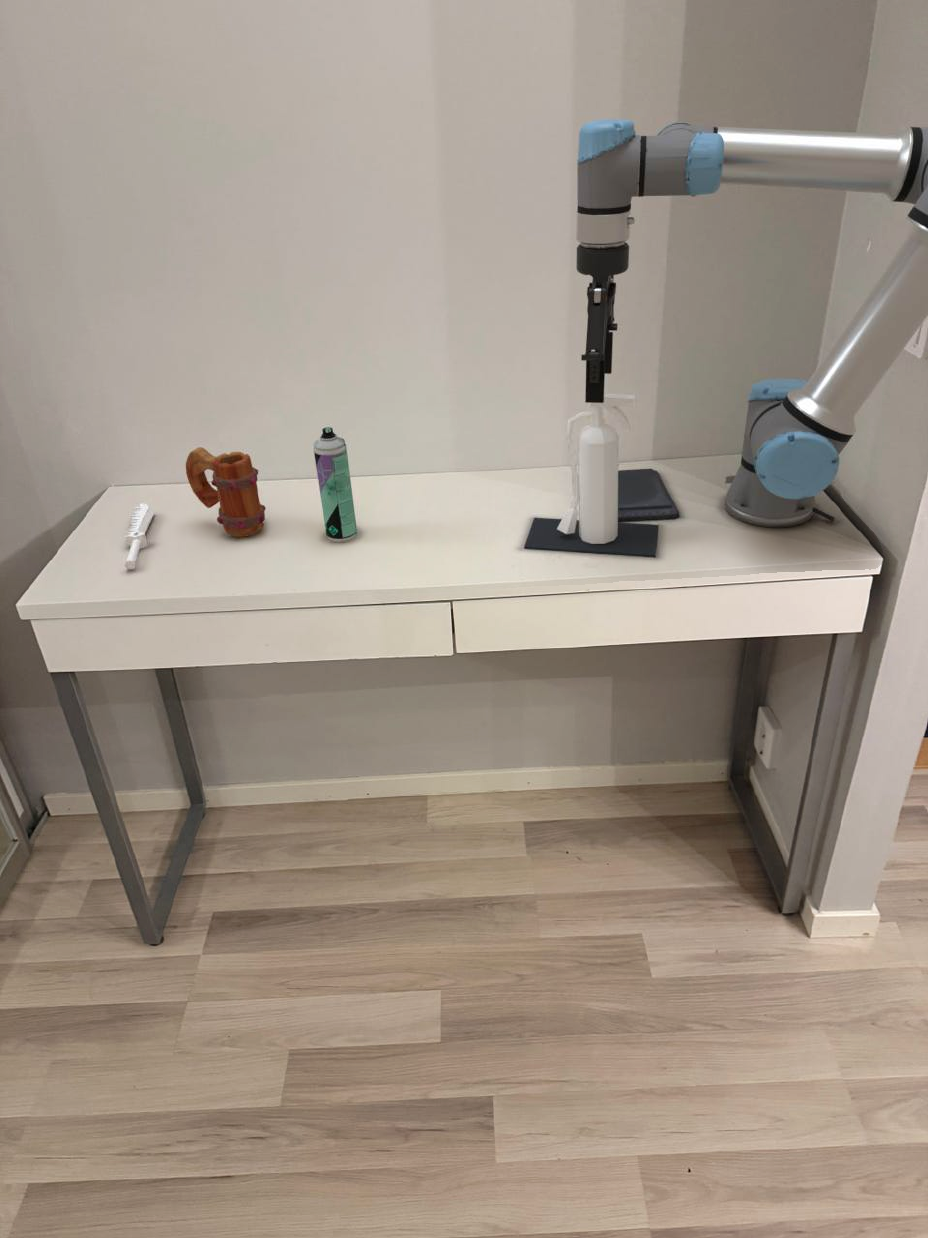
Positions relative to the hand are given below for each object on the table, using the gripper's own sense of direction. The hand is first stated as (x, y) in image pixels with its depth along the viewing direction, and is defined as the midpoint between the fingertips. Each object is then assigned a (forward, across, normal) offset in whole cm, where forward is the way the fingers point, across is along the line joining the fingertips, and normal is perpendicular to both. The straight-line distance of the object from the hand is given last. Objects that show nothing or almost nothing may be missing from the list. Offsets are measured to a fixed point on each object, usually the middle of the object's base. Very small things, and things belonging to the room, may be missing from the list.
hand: (598, 387), depth 141 cm
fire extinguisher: (+26, 0, 0) cm, 26 cm away
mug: (+26, -5, +65) cm, 71 cm away
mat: (+27, 0, 0) cm, 27 cm away
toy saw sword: (+26, -12, +81) cm, 86 cm away
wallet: (+27, +17, -5) cm, 32 cm away
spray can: (+26, -5, +44) cm, 52 cm away
